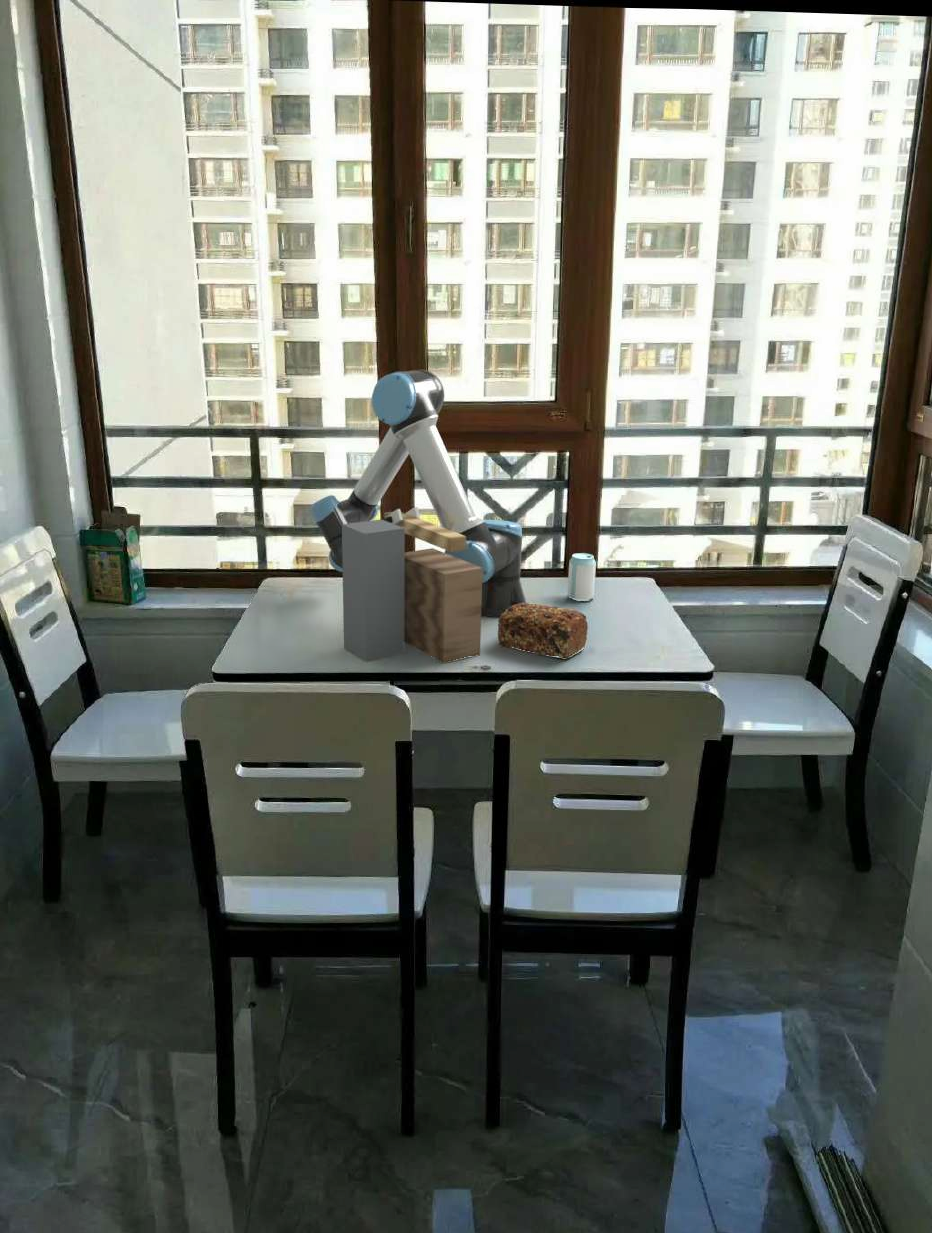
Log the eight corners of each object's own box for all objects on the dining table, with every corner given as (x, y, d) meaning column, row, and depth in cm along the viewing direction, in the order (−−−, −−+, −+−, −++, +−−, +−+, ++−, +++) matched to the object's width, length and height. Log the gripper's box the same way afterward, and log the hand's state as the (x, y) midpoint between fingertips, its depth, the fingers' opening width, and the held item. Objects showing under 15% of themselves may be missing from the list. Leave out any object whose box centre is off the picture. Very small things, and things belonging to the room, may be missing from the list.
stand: (343, 648, 228) (341, 524, 219) (381, 640, 234) (381, 519, 225) (365, 661, 221) (364, 533, 212) (404, 653, 226) (404, 528, 217)
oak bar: (384, 525, 238) (384, 512, 237) (398, 523, 240) (398, 511, 239) (450, 551, 216) (450, 538, 215) (465, 549, 218) (465, 536, 217)
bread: (587, 650, 231) (590, 609, 228) (566, 663, 223) (568, 621, 220) (518, 634, 241) (519, 594, 238) (495, 646, 233) (496, 605, 229)
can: (578, 593, 274) (581, 551, 270) (598, 599, 269) (601, 556, 265) (561, 598, 269) (564, 555, 265) (582, 604, 264) (585, 560, 261)
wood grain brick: (396, 637, 236) (396, 553, 230) (431, 630, 242) (432, 548, 235) (443, 663, 221) (444, 574, 214) (479, 655, 226) (482, 567, 220)
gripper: (398, 553, 255) (443, 524, 236) (339, 561, 246) (381, 532, 226) (390, 525, 256) (435, 494, 237) (331, 532, 247) (372, 501, 227)
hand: (408, 513), depth 232 cm, fingers closed on oak bar, 4 cm apart
